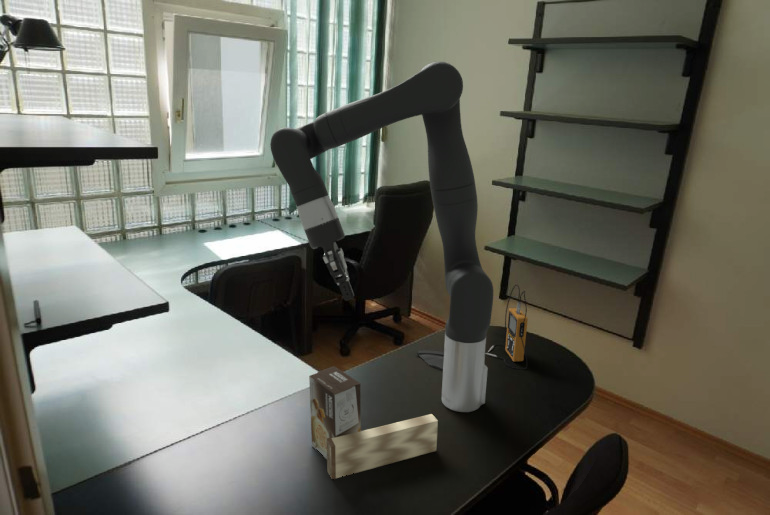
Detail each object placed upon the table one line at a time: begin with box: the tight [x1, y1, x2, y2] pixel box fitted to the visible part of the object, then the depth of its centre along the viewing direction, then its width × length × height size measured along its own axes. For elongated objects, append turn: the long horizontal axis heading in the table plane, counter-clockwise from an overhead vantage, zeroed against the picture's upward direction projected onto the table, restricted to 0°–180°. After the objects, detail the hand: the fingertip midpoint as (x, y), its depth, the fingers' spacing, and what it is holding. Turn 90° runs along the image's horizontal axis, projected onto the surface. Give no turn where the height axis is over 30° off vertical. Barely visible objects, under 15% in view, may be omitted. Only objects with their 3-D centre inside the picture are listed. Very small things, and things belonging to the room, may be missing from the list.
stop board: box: [326, 413, 439, 480], centre depth 100 cm, size 22×3×7 cm, turn 113°
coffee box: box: [309, 366, 362, 460], centre depth 101 cm, size 9×6×16 cm
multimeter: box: [485, 284, 529, 370], centre depth 140 cm, size 15×10×20 cm
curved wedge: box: [416, 349, 444, 372], centre depth 140 cm, size 8×14×2 cm, turn 47°
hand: (349, 298), depth 109 cm, fingers closed
